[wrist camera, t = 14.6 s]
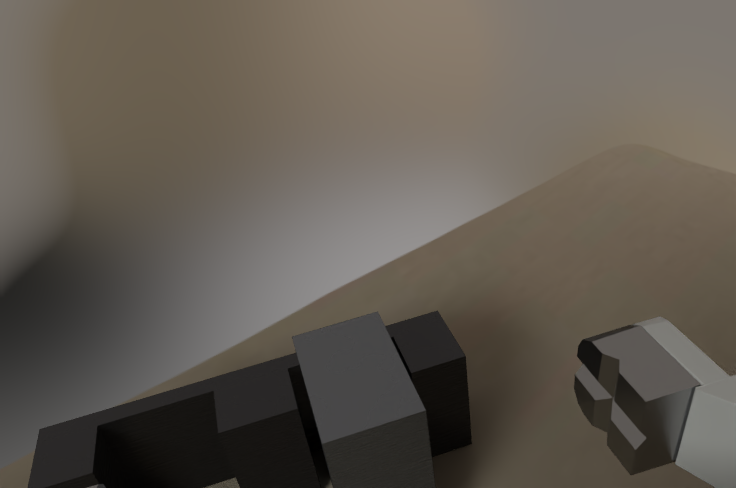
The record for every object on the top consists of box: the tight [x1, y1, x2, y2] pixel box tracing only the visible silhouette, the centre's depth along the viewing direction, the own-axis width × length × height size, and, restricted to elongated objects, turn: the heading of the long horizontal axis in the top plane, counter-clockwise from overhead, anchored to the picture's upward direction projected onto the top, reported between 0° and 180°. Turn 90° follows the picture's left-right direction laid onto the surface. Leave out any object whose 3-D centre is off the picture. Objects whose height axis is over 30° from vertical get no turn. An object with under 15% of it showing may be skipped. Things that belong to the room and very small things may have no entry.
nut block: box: [292, 312, 436, 488], centre depth 32 cm, size 4×7×10 cm, turn 16°
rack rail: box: [28, 311, 472, 488], centre depth 35 cm, size 22×4×7 cm, turn 106°
